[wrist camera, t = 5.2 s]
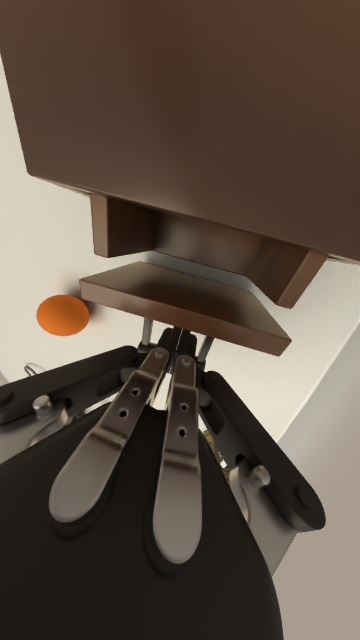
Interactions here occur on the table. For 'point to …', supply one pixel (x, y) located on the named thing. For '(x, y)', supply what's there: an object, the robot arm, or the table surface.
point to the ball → (62, 315)
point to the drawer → (189, 291)
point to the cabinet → (197, 109)
